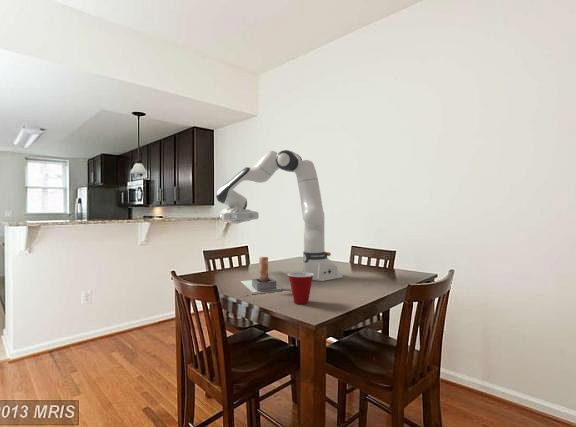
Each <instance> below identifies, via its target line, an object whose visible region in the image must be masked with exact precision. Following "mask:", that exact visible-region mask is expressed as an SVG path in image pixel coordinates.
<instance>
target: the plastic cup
mask: <svg viewBox="0 0 576 427" xmlns="http://www.w3.org/2000/svg"><path fill="white" fill-rule="evenodd" d="M287 276H288V277H289V278H288V280H289V282H290V288H291V292H292V293H291V295H292V298H293V299H292V300H293V302H294V304H295V305H307V304H308V303H309V301H310V295H311V288H312V282H313V280H312V279H313V276H314V274H313V273H303V271H302V272H289V273H287Z"/></svg>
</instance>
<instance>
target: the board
mask: <svg viewBox="0 0 576 427" xmlns="http://www.w3.org/2000/svg"><path fill="white" fill-rule="evenodd" d="M240 282H241V283H242V284H243V286H244V287H246V288H247V289H248V290H249V291H250V292H251V294H252V295H251V296H258V294H260V295H266V293H268V294H274V293H275V292H277V293H282V292H283V291H282V290H283V289H282V287H280V286H279V285H277V281H276V280H275V279H274V278H272V277H270V276H268V281H267V282H260V277H259V278H258V277H257V278H252V279H250V280H241V281H240ZM281 289H282V290H281ZM274 290H275V291H274ZM267 291H268V292H267ZM256 292H257V293H256Z"/></svg>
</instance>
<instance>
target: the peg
mask: <svg viewBox="0 0 576 427" xmlns="http://www.w3.org/2000/svg"><path fill="white" fill-rule="evenodd" d="M258 261H259V266H258V268H259V278H260V282H267V281H268V277H269V257H268V256H260V257H259V259H258Z"/></svg>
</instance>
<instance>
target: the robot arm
mask: <svg viewBox="0 0 576 427" xmlns="http://www.w3.org/2000/svg"><path fill="white" fill-rule="evenodd" d="M279 169H280V170H282V171H285V172H288V173H295V175H296V181H297V185H298V192H299V197H300V205H301V206H300V207H301V211H302V213H301V214H302V220H303V221H304V222H303V223H304V227H303V229H304V230H303V231H304V232H303V233H304V234H303V252H302V253H303V257H302V258H303V268H302V273H313V274H314V276H313V279H312V281H318V282H323V281H330V280H336V279H342V278H343V277H344V276H343V274H342V273H339V268H338V265H337V264H336V263H335V262H333V261H332V260H331V259H330V258H328V257H331V256H332V254H331V252H327V251H325V212H324V208H323V201H322V195H321V190H320V184H319V178H318V173H317V170H316V167H315V164H314V163H313V161H311V160H309V159H304V160H303V159H302V157H301V156H300V154H299V153H298V154H297V153H296V152H294V151H291V150H288V149H285V150H281V151H279V152H277V151H273V150H269V151H267V152H266V153H265V154H264V155H263V156H262V157H261V158H260V159H259V160H257V162H256V163H255V164H254V165H252V166H249V167H247V166H246V167H244V168H243V169H241V170H240V171H239V172H238V173H237V174H236V175H234V176H233V177H232V178H231V179H229V180H228V181H227V182H226V183H225V184H223V185H222V186H220V187H219V188H218V189H217V192H216V194H215V197H216V201H217V202H219V203H221V204H223V205H225V206H227V207H225V208H223V209H221V210H220V212H219V215H218V217H219V218H220V219H221V220H222V221H223V222H225V223H230V224H236V225H237V224H240V223H245V222H250V221H252V220H253V221H254V220H258V219H259V217H260V216H259V212H258V211H253V210H251V209H247V207H248V201H247V200H248V199H247V198H246V197H245V196H244V195H243V194H241V193H239V192H237V191H235V190H234V189H235V188H236V187H237V186H238V185H240V184H241V183H242V182H244V181H249V182H250V181H251V182H255V183H266V182H267V181H269V180H270V179H271V178H272V176H274V174H275V173H276V171H278V170H279Z"/></svg>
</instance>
